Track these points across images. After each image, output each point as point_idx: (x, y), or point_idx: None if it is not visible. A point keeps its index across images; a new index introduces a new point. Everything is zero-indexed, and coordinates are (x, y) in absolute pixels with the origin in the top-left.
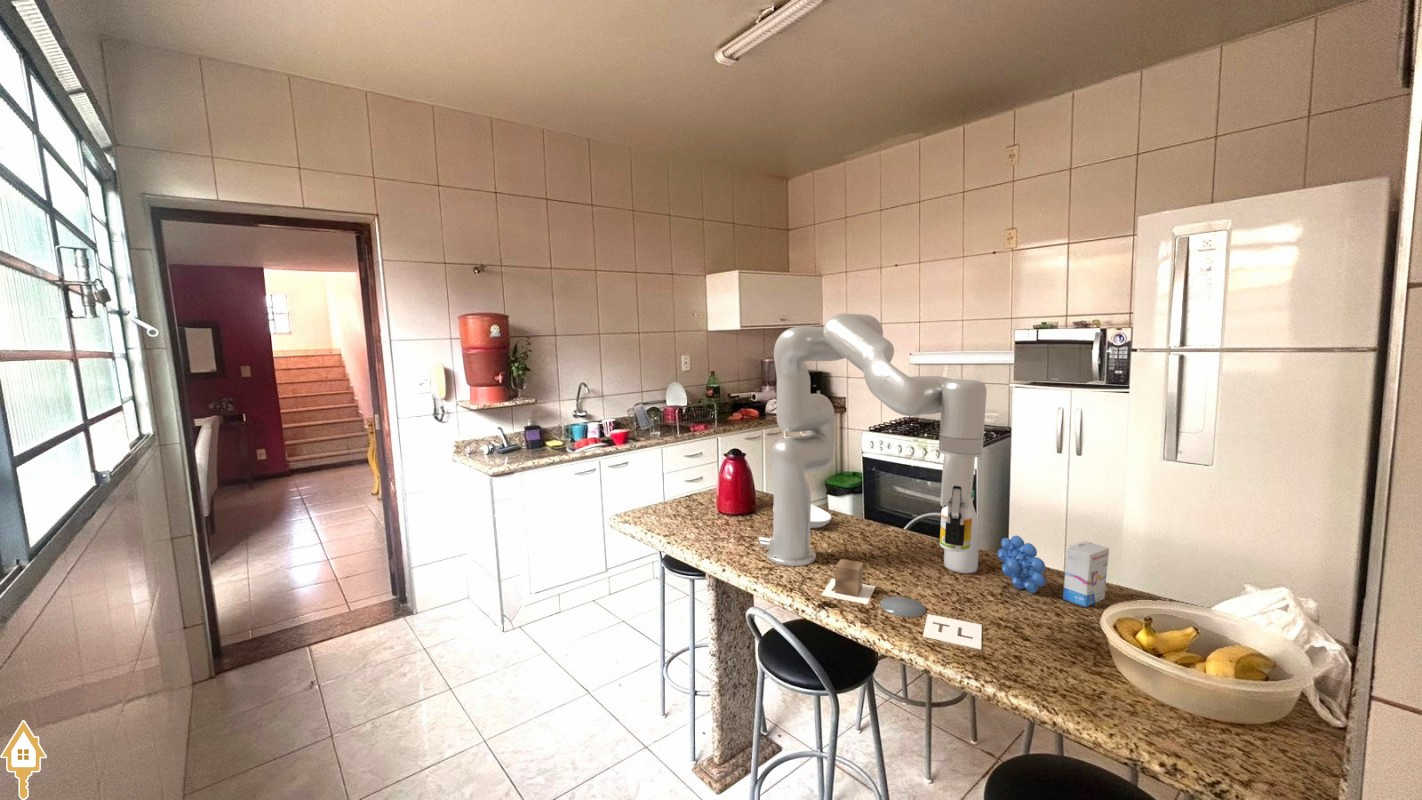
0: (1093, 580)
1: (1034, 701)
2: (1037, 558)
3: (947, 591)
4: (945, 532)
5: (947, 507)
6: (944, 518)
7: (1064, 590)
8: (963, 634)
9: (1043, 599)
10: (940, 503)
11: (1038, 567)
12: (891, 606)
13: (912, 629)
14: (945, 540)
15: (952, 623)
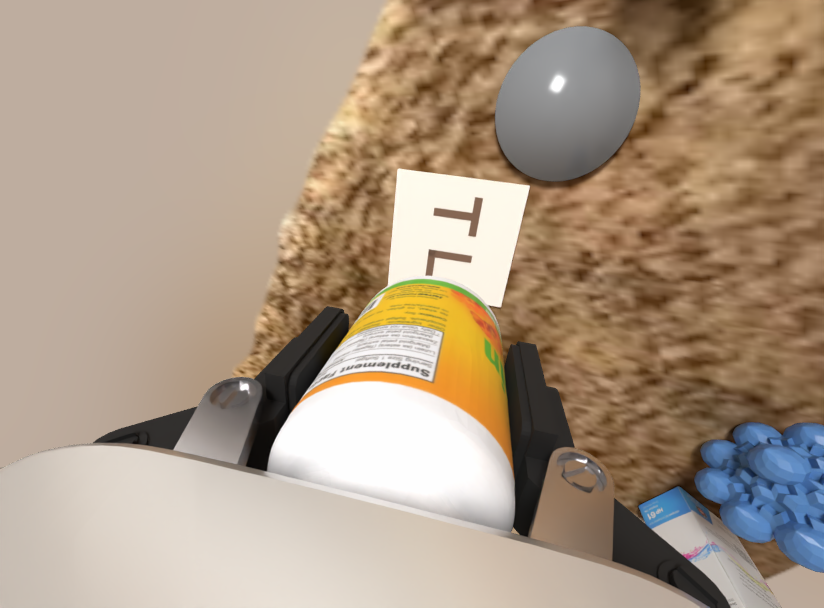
0: None
1: (261, 334)
2: (760, 537)
3: (713, 252)
4: (302, 333)
5: (335, 477)
6: (321, 380)
7: (685, 506)
8: (439, 262)
9: (674, 453)
10: (19, 462)
11: (726, 514)
12: (550, 70)
13: (433, 142)
14: (323, 312)
15: (488, 244)
